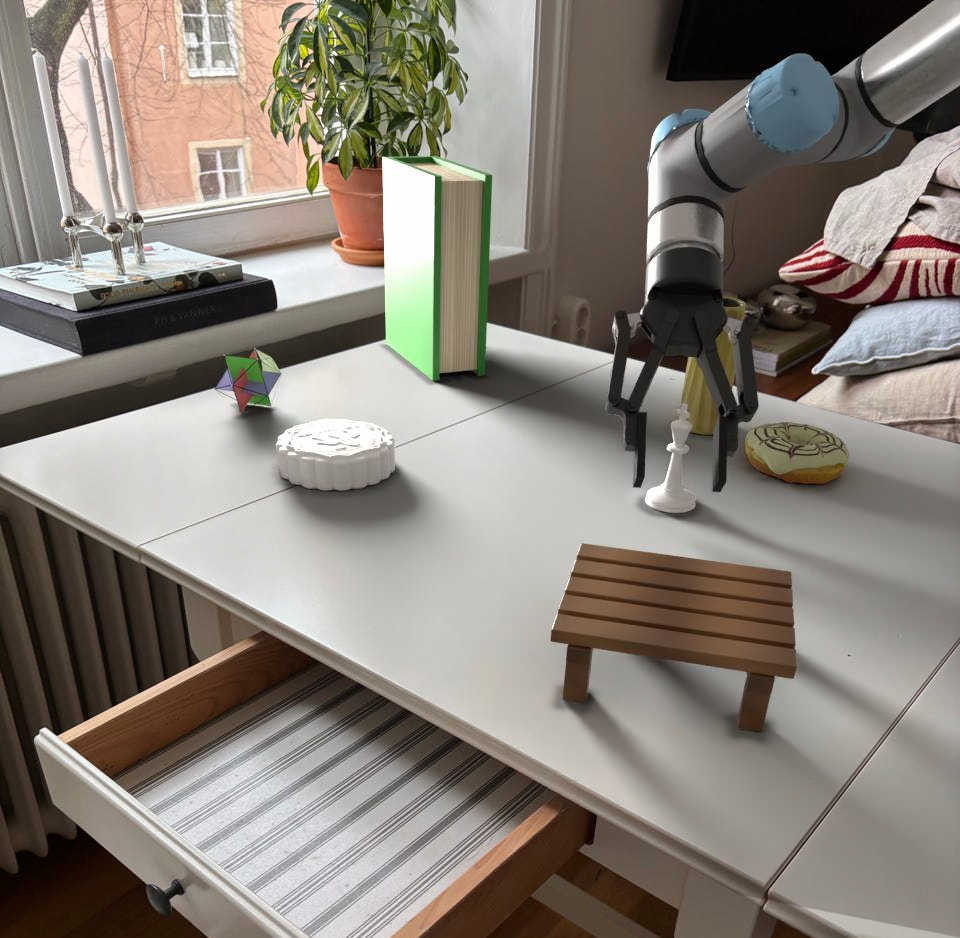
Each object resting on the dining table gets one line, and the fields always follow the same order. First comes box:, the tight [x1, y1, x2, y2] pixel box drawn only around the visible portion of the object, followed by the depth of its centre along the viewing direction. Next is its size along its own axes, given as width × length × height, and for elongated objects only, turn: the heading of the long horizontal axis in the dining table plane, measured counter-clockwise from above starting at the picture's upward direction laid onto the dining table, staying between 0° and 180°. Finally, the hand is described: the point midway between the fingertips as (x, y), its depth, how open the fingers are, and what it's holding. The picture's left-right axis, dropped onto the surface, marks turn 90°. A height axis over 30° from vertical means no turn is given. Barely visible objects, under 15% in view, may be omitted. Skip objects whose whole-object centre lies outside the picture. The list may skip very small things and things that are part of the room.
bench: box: [550, 542, 798, 733], centre depth 72 cm, size 16×14×6 cm
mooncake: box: [275, 418, 396, 492], centre depth 101 cm, size 12×12×4 cm
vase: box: [676, 295, 747, 436], centre depth 112 cm, size 6×6×14 cm
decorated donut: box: [744, 421, 850, 485], centre depth 105 cm, size 10×11×4 cm
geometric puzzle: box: [213, 347, 283, 415], centre depth 115 cm, size 7×7×8 cm
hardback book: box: [382, 155, 493, 382], centre depth 129 cm, size 18×7×24 cm, turn 24°
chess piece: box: [644, 403, 697, 514], centre depth 95 cm, size 5×5×10 cm
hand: (679, 484), depth 93 cm, fingers open, 7 cm apart
